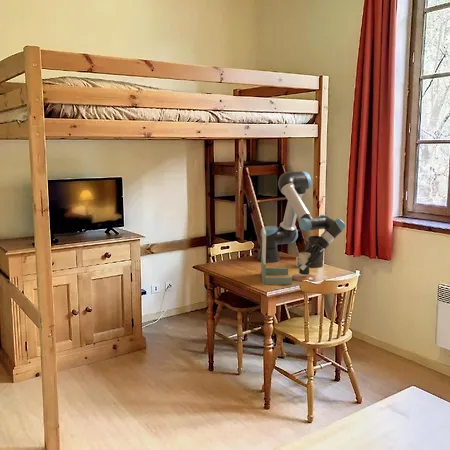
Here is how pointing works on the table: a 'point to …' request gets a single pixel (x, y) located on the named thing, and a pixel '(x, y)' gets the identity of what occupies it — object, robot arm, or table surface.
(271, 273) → the grey-green stand
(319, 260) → the beer stein
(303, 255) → the character mug
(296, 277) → the terracotta saucer
